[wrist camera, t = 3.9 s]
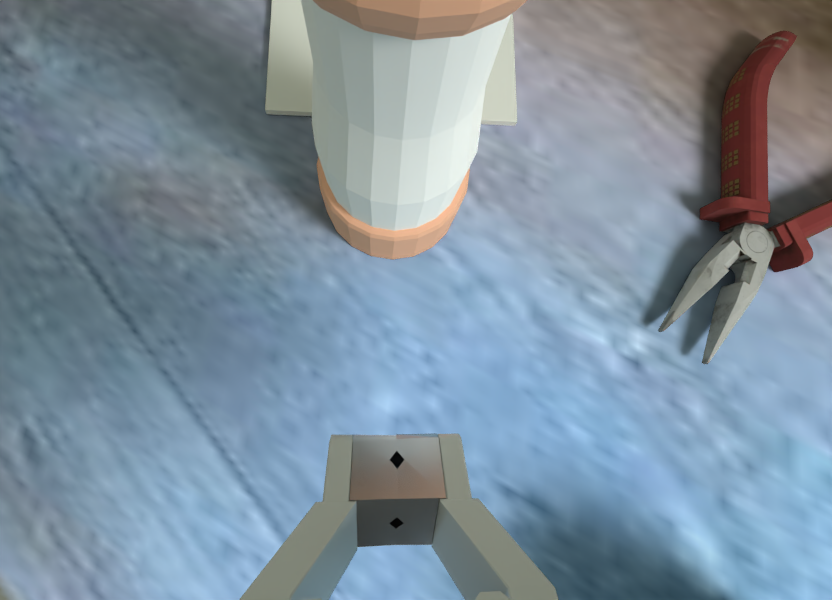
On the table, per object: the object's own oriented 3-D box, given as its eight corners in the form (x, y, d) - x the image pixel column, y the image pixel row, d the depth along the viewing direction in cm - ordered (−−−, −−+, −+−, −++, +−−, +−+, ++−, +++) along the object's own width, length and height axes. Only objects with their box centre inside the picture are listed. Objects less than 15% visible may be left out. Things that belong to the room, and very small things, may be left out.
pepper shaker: (378, 110, 25) (375, -654, 7) (482, 183, 25) (790, -389, 6) (297, 207, 24) (3, -400, 5) (407, 286, 24) (513, -54, 5)
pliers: (584, 287, 25) (608, 277, 23) (749, 44, 29) (786, 12, 26) (752, 411, 25) (795, 416, 22) (897, 149, 29) (948, 127, 26)
